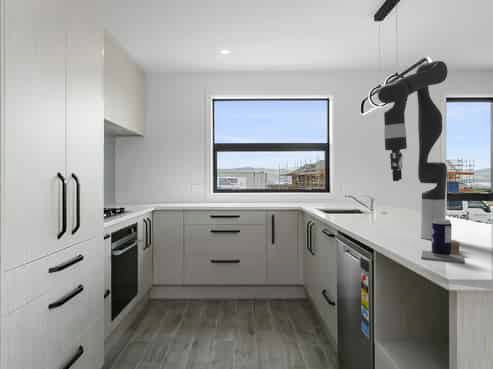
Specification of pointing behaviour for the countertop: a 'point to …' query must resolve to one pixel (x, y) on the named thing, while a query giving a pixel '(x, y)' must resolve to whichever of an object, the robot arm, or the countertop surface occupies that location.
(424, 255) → the mat
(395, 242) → the countertop surface
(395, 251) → the countertop surface
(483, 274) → the countertop surface
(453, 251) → the walnut block
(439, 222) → the beverage can
